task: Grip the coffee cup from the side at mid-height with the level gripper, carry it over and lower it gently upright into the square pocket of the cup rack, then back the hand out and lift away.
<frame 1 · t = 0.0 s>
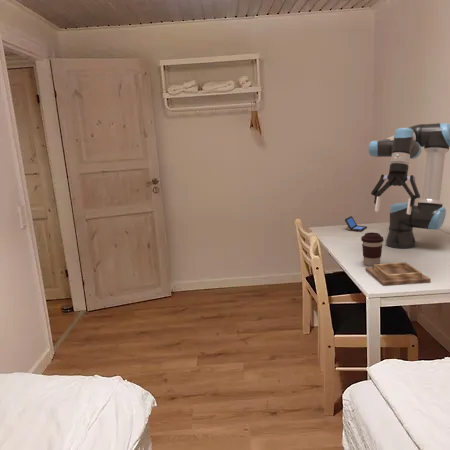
hand: (392, 212, 188), 28 cm above the table, tool tilted 20°, fingers open, 13 cm apart
disk drive: (398, 232, 268), on the table
coffee cup: (371, 264, 208), on the table
handheld game console: (355, 229, 278), on the table
cup rack: (396, 276, 191), on the table
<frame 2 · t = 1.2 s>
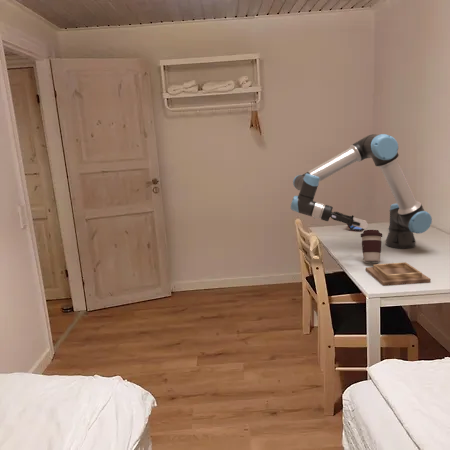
hand: (366, 225, 206), 19 cm above the table, tool tilted 75°, fingers open, 13 cm apart
coffee cup: (371, 262, 208), point 1 cm above the table
everything else where it was.
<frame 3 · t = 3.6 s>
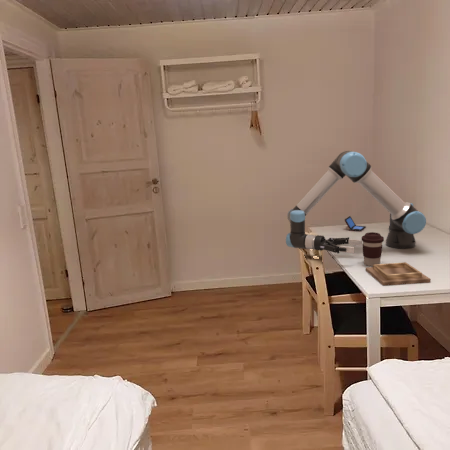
hand: (358, 246, 210), 8 cm above the table, tool horizontal, fingers open, 13 cm apart
coffee cup: (371, 264, 208), on the table
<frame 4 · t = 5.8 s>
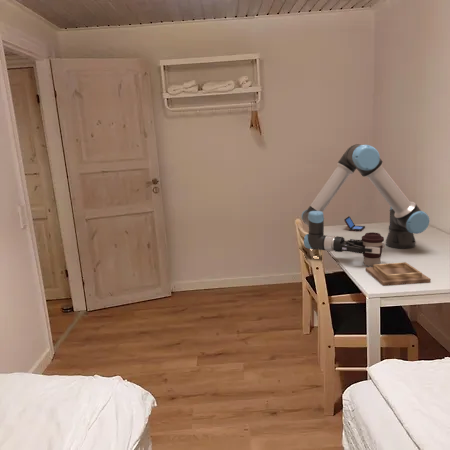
hand: (382, 248, 204), 9 cm above the table, tool horizontal, fingers closed on coffee cup, 9 cm apart
coffee cup: (371, 264, 208), on the table, touching gripper
everything else where it was.
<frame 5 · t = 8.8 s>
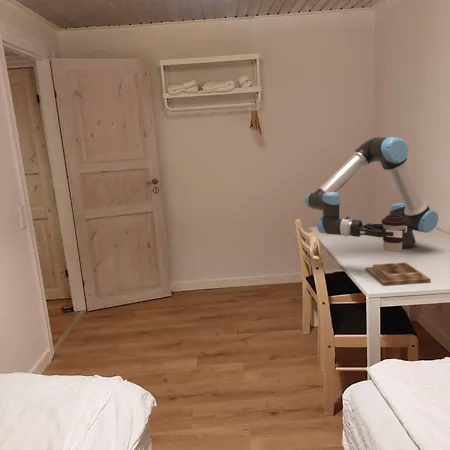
hand: (404, 231, 186), 20 cm above the table, tool horizontal, fingers closed on coffee cup, 9 cm apart
coffee cup: (392, 250, 190), point 11 cm above the table, touching gripper
when the fingers open (11 cm above the table, at t = 11.9 s): coffee cup drops 1 cm, resting on cup rack.
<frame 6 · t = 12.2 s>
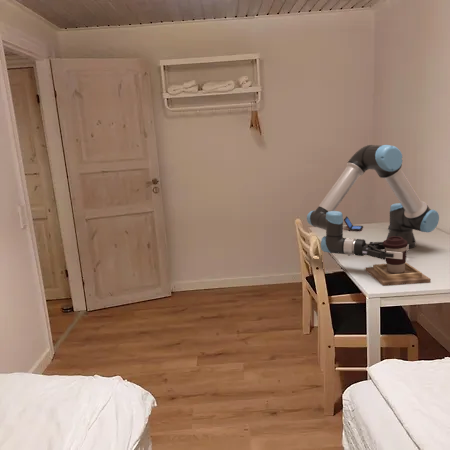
hand: (405, 251, 187), 11 cm above the table, tool horizontal, fingers open, 13 cm apart
coffee cup: (396, 271, 193), point 2 cm above the table, touching cup rack
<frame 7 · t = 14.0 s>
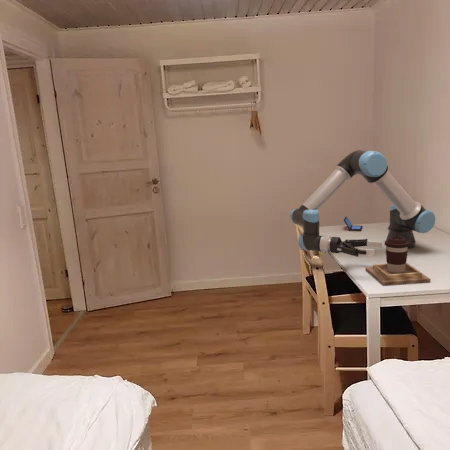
hand: (378, 248, 193), 12 cm above the table, tool horizontal, fingers open, 13 cm apart
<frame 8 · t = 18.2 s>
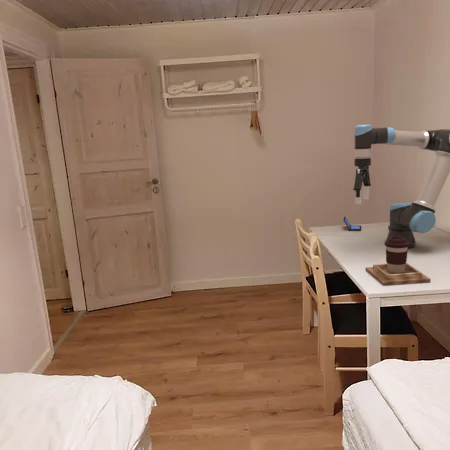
hand: (362, 201, 213), 29 cm above the table, tool pointing down, fingers open, 13 cm apart
at the end: coffee cup 2.2 cm off-centre on the cup rack, point 1.3 cm above the cup rack's base; coffee cup tilted 0°; the gripper is holding nothing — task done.
